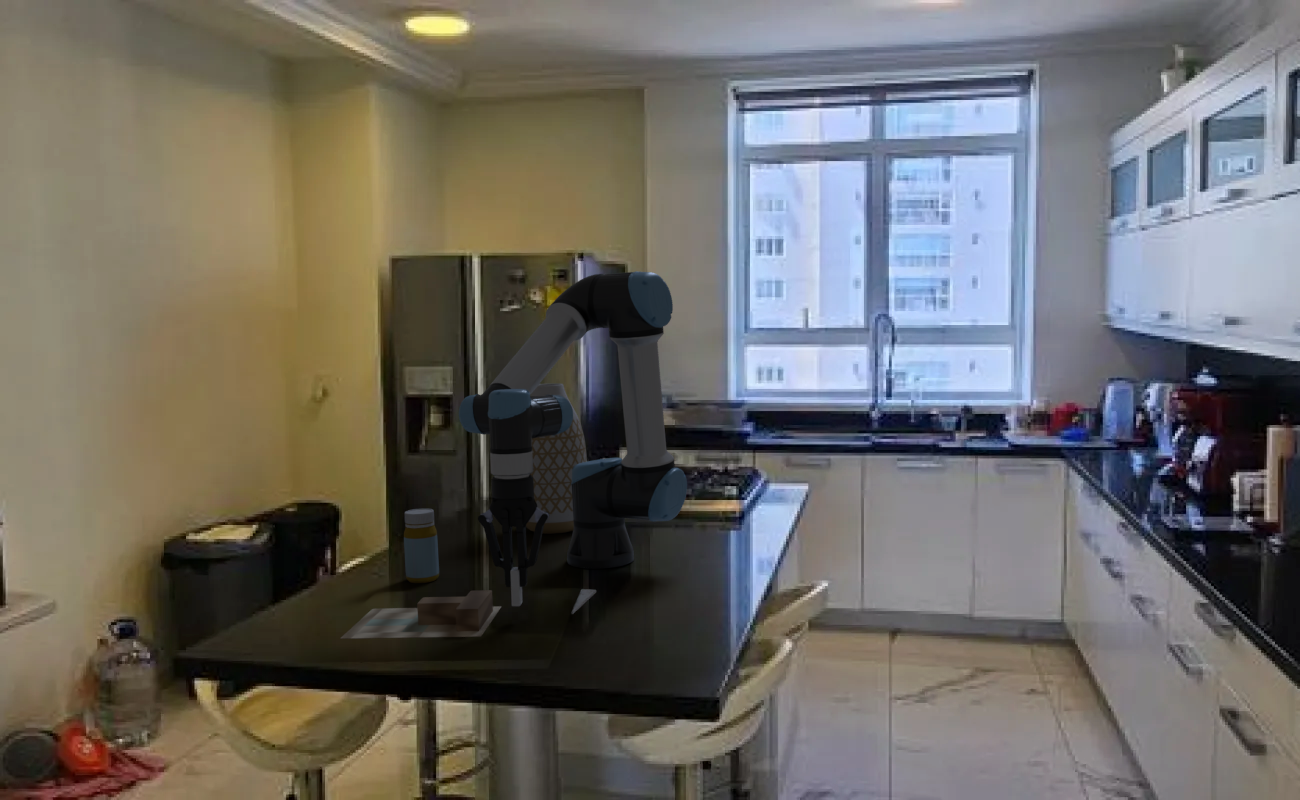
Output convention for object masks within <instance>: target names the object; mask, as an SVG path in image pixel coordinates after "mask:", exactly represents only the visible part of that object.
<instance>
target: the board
mask: <svg viewBox="0 0 1300 800" xmlns="http://www.w3.org/2000/svg"><path fill="white" fill-rule="evenodd" d="M501 608H502V606H501V605H499V606H493V612H492V613H491V615H490V616H489V618H488V619H487V620H486V622H485V623H484V625H483V626H482V628H481V629H480V630H479V631H457V626H456V625H418V609H417V607H397V608H396V607H394V608H393V607H391V608H383V607H382V608H372V609H370V611H369V612H367V613H366V614H365V615H364V616H363V617H362V618H361V619H360V620H359V621H357V622H356V623H355V624H354V625H353V626H352V627H351V628H350V629H348V631H346V632H345V633H344V634H343V635H342V636H341V637H340V640H342V639H343V640H344V639H349V640H350V639H352V640H353V639H401V638H402V639H408V638H409V639H411V638H415V639H416V638H462V637H463V638H464V637H465V638H471V637H472V638H473V637H476V638H477V637H482V636H483V634H484V633H485V632H486V630H487V629H488V628H489V626H490V625H491V623H492V621H493V620H494V619H495V617H496V616H497V614H498V613H499V611H500V609H501Z"/></svg>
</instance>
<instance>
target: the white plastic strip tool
mask: <svg viewBox="0 0 1300 800" xmlns="http://www.w3.org/2000/svg"><path fill="white" fill-rule="evenodd" d="M579 591H580V592H579V594H578V596H577V599H576V601H575V603H574V605H573V608H572V610H571V612H570V615H574V613H576V611H578V610H579V609H580V608H581V607H582V606H583V605H584V604H585V603H586V602H588V601H589V599H590V600H591V598H592V597H593V596H594V595H595V594H596V593H597V590H596V589H590V588H588V589H584V588H582V589H581V590H579Z"/></svg>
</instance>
